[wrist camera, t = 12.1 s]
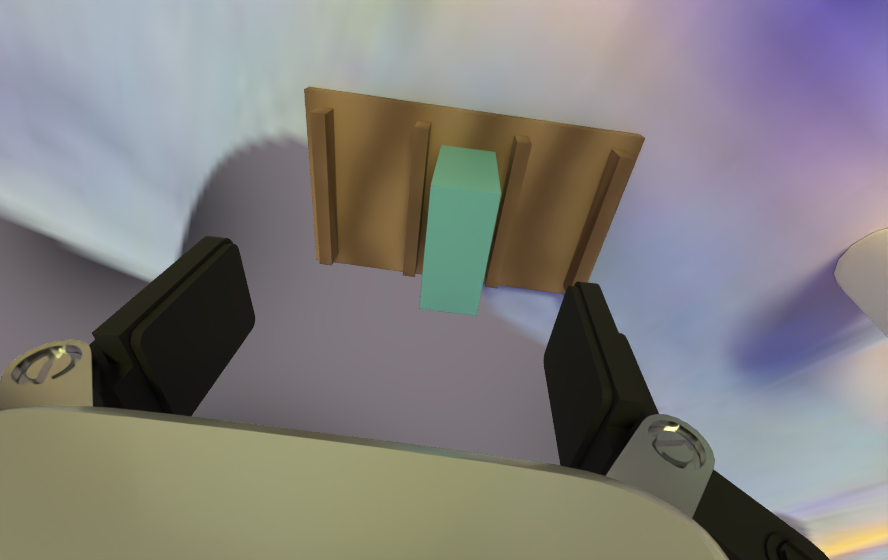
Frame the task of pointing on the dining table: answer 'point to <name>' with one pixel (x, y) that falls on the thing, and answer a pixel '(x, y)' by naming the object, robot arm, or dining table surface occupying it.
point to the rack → (411, 172)
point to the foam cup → (867, 276)
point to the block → (459, 229)
